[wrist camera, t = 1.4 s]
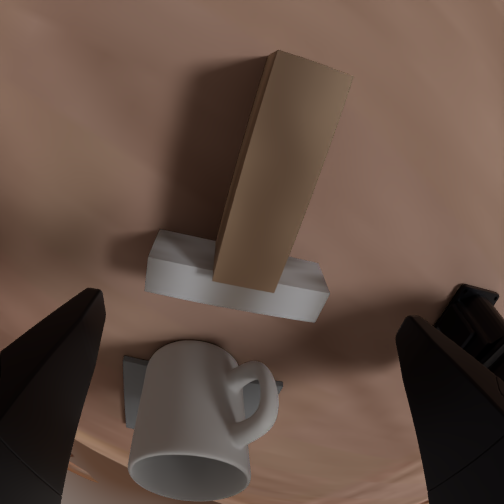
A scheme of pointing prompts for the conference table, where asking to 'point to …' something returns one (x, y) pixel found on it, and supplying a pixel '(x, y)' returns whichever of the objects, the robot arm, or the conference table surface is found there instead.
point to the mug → (198, 422)
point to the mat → (135, 381)
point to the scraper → (263, 202)
